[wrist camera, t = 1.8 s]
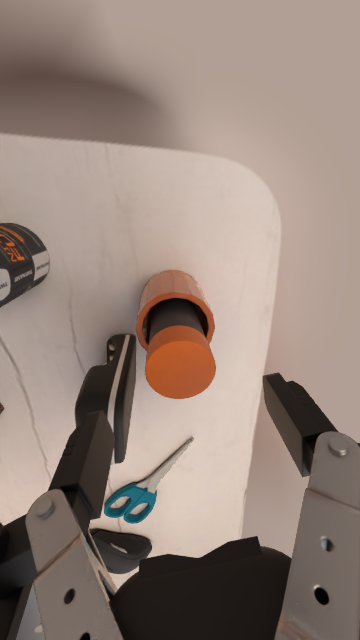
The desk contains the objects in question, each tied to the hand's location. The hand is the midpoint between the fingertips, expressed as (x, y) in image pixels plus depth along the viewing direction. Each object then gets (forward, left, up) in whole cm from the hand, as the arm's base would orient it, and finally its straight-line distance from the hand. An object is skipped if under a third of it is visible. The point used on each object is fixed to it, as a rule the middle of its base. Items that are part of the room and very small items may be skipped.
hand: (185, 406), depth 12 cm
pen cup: (0, 0, -15) cm, 15 cm away
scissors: (+27, -9, -15) cm, 32 cm away
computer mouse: (+42, -23, -16) cm, 50 cm away
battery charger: (+5, -7, -16) cm, 18 cm away
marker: (0, 0, -15) cm, 15 cm away
